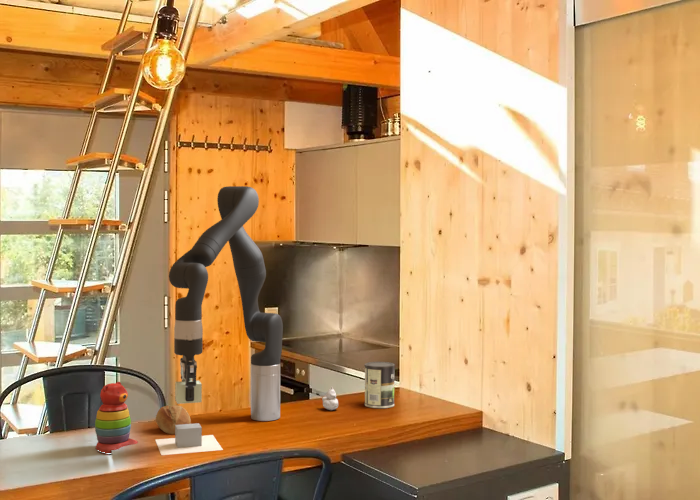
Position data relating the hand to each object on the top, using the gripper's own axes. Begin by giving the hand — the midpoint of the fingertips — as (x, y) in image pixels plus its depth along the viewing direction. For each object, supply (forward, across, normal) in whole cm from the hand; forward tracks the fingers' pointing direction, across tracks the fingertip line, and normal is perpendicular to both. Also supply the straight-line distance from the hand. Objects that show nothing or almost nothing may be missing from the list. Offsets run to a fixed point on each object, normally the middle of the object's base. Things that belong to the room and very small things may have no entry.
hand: (188, 398), depth 216 cm
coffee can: (+14, -34, +69) cm, 78 cm away
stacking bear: (+14, -7, -19) cm, 25 cm away
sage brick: (+1, 0, 0) cm, 1 cm away
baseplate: (+14, 0, 0) cm, 14 cm away
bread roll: (+14, -19, -2) cm, 24 cm away
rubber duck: (+14, -33, +51) cm, 62 cm away
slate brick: (+12, 0, 0) cm, 12 cm away
